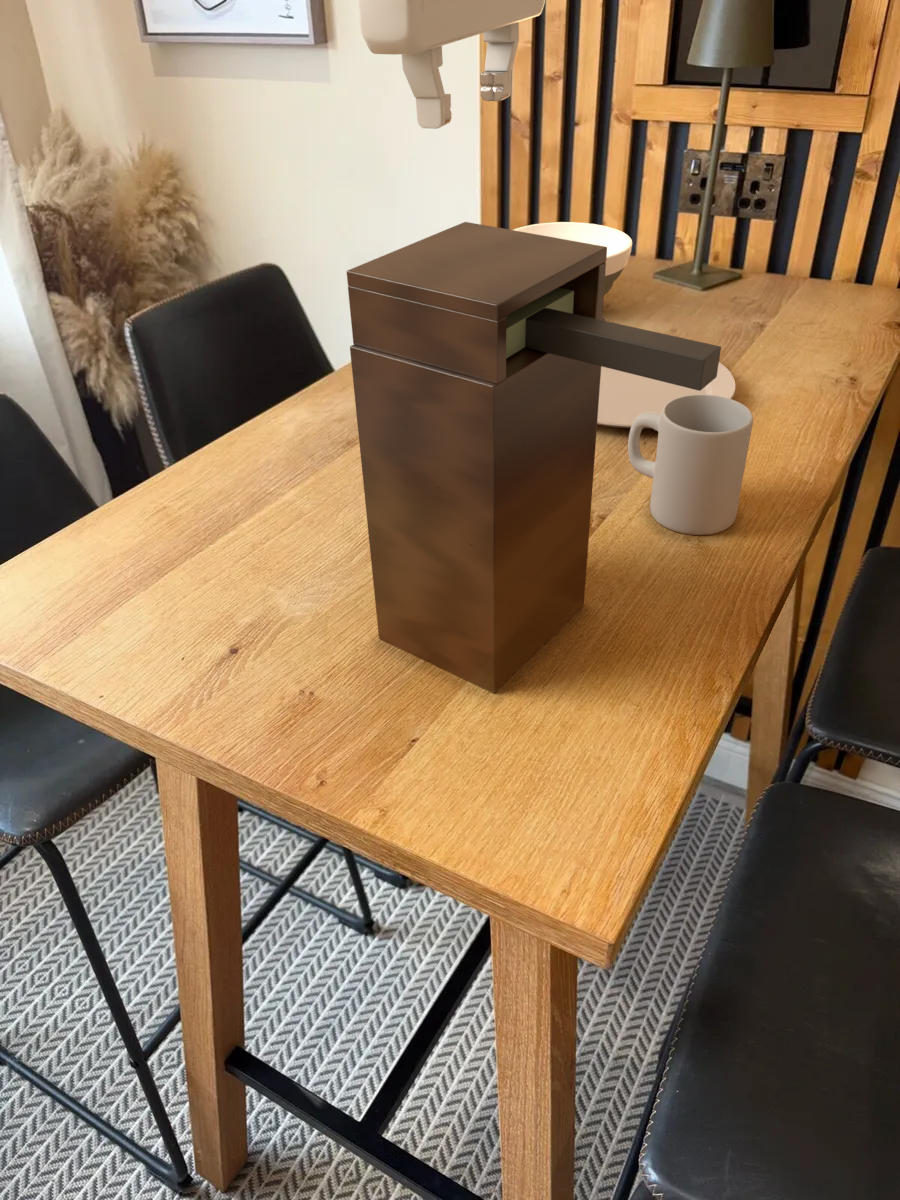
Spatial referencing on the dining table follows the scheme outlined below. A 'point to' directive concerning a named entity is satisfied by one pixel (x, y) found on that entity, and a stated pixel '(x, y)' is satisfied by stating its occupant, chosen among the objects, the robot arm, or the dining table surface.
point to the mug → (695, 461)
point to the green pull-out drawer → (609, 343)
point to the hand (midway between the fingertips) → (467, 112)
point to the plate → (647, 395)
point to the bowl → (591, 242)
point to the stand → (474, 446)
